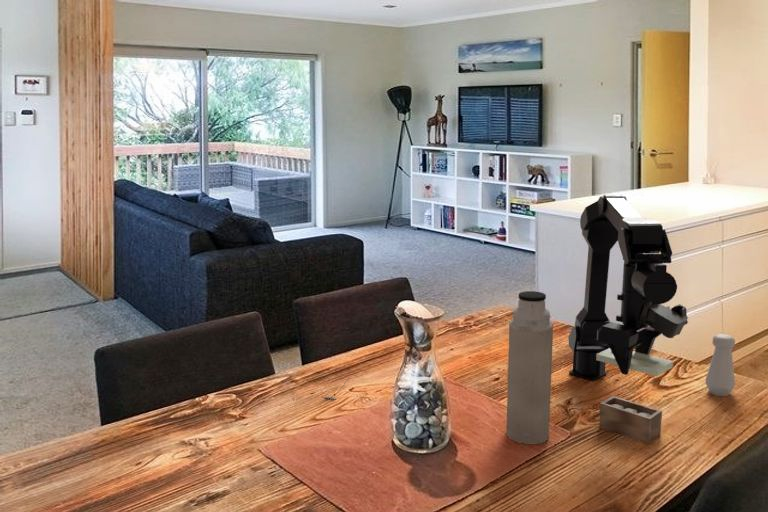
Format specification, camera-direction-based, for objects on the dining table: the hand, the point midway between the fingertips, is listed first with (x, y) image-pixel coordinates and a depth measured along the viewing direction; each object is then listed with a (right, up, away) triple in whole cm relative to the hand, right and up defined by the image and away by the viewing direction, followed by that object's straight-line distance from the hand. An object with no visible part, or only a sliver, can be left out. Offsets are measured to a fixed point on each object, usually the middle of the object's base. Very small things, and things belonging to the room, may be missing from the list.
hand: (633, 369), depth 131 cm
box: (0, -12, +3) cm, 13 cm away
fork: (-57, -9, +25) cm, 63 cm away
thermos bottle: (-20, -13, +2) cm, 24 cm away
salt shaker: (+26, -9, +20) cm, 34 cm away
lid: (0, +1, 0) cm, 1 cm away
